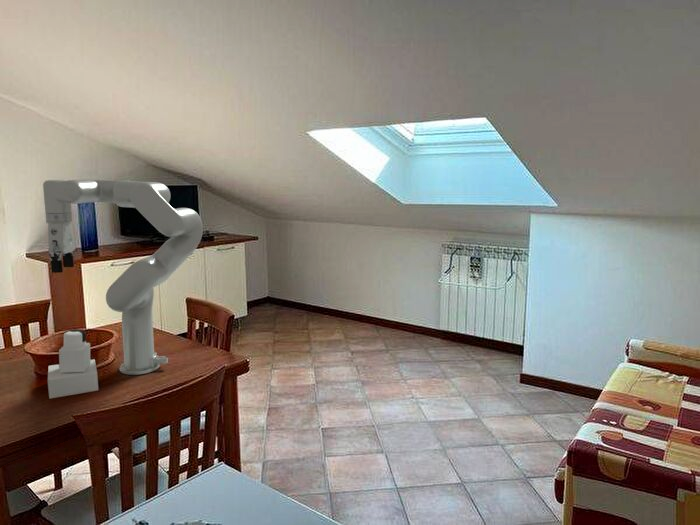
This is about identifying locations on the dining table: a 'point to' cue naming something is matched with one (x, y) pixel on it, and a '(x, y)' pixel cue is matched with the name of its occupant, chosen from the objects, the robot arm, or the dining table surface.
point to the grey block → (71, 381)
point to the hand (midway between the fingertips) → (63, 269)
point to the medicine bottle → (74, 352)
